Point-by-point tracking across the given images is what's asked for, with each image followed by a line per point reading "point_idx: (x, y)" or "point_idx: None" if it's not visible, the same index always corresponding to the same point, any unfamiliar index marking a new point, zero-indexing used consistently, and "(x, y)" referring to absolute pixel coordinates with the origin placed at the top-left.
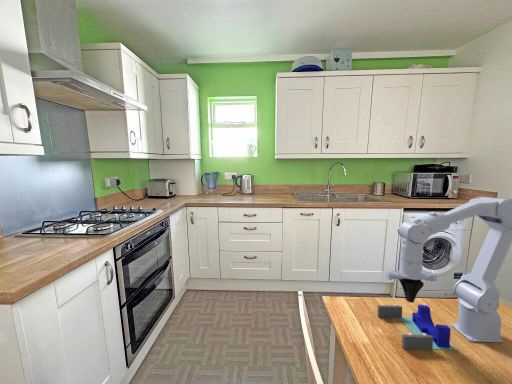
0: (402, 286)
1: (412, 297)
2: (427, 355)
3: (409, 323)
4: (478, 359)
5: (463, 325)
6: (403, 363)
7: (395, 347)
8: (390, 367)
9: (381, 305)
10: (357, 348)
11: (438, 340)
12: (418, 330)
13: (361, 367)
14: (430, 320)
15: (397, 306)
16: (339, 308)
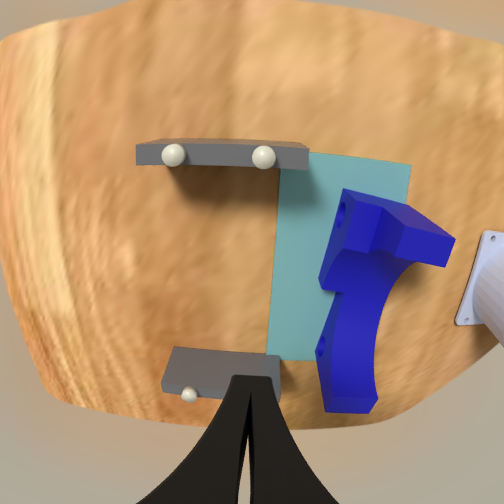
0: (186, 462)
1: (249, 450)
2: None
3: (308, 212)
4: (392, 383)
5: (488, 306)
6: (149, 391)
7: (150, 344)
8: (111, 393)
9: (159, 146)
10: (41, 332)
11: (318, 369)
12: (313, 265)
13: (50, 379)
14: (401, 264)
15: (277, 158)
16: (12, 100)
